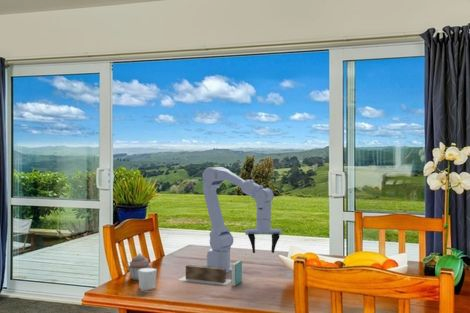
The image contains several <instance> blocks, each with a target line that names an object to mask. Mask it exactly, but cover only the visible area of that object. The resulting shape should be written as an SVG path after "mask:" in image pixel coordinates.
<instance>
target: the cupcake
mask: <svg viewBox="0 0 470 313" xmlns="http://www.w3.org/2000/svg"><path fill="white" fill-rule="evenodd" d="M127 266H128V267H127V269H128V270H129V273H130V278H131V280H133V281H139V277H138V270H139V269H141V268H152V264H150V263H149V259H148V258H147V257H146V256H144V255H143V254H141V253H138V254H137V255H136V256H135V257H132V259H131V261H130V262H129V265H127Z"/></svg>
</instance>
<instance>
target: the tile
mask: <svg viewBox="0 0 470 313" xmlns="http://www.w3.org/2000/svg"><path fill="white" fill-rule="evenodd" d="M231 268H232V270H231V280H232V281H231V286H233V287H236V286H238V285H239V284H241V282H243V261H242V260H236V261H235V262H233V263H232V264H231Z"/></svg>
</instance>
